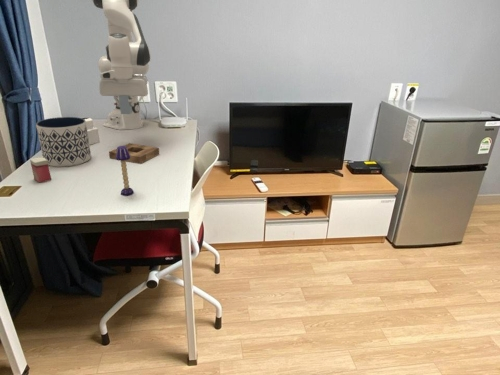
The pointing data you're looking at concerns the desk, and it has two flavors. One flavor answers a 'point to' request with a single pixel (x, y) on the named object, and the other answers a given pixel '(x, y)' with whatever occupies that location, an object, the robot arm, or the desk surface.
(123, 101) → the key block
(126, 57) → the robot arm
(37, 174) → the small box
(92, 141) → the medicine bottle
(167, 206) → the desk surface
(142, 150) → the wooden socket board
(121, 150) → the toy lamp
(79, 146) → the planter
